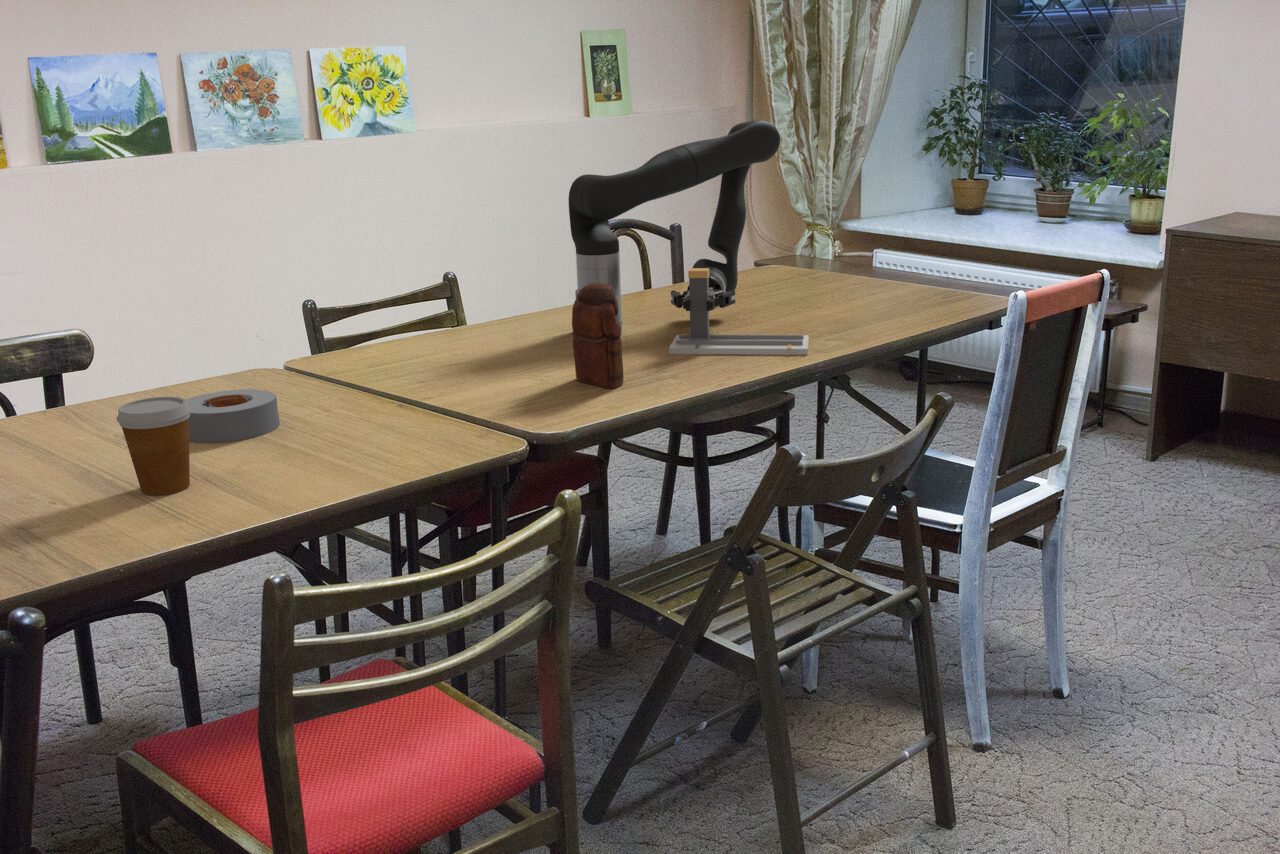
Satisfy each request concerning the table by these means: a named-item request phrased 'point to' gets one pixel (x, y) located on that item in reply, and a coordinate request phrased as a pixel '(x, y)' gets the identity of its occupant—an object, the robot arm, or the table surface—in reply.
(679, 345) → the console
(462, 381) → the table surface
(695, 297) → the fader
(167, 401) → the disposable coffee cup
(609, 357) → the wooden figurine
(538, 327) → the table surface
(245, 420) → the tape roll
